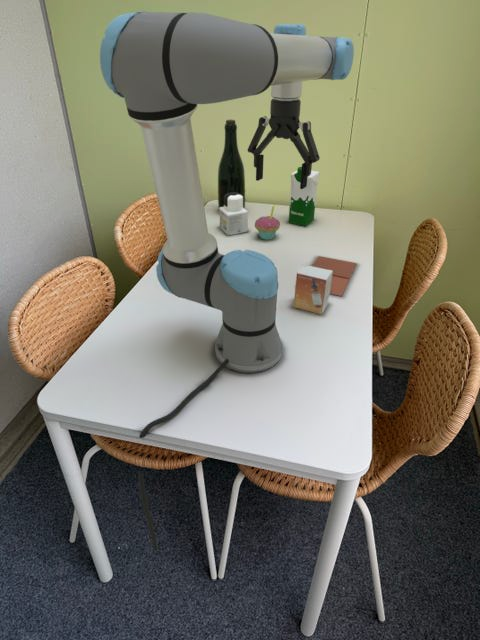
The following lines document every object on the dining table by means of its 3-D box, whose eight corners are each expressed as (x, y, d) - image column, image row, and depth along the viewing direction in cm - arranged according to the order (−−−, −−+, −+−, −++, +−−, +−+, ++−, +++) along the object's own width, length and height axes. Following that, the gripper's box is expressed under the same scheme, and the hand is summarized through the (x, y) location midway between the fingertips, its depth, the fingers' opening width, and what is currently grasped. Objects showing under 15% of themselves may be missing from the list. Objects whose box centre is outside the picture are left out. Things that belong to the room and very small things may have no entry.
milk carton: (285, 222, 162) (288, 168, 150) (296, 215, 168) (300, 161, 157) (306, 228, 158) (312, 172, 147) (317, 219, 164) (323, 165, 153)
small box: (292, 307, 116) (295, 272, 110) (300, 297, 120) (303, 263, 114) (322, 315, 113) (326, 279, 107) (328, 304, 117) (333, 269, 111)
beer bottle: (223, 204, 177) (221, 116, 158) (248, 207, 174) (249, 118, 155) (214, 214, 169) (211, 122, 150) (240, 217, 166) (240, 124, 147)
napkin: (341, 296, 121) (342, 294, 120) (299, 287, 124) (299, 285, 124) (356, 264, 136) (356, 263, 135) (318, 257, 139) (318, 256, 139)
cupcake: (279, 232, 155) (281, 199, 148) (278, 242, 148) (280, 208, 141) (255, 231, 156) (255, 198, 149) (253, 241, 149) (254, 207, 142)
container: (219, 227, 158) (218, 192, 151) (238, 224, 161) (238, 189, 154) (228, 235, 153) (227, 199, 145) (248, 231, 155) (248, 196, 148)
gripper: (338, 100, 107) (328, 187, 119) (250, 92, 117) (248, 172, 129) (327, 105, 102) (317, 195, 114) (235, 96, 112) (235, 179, 124)
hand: (280, 183), depth 122 cm, fingers open, 13 cm apart
